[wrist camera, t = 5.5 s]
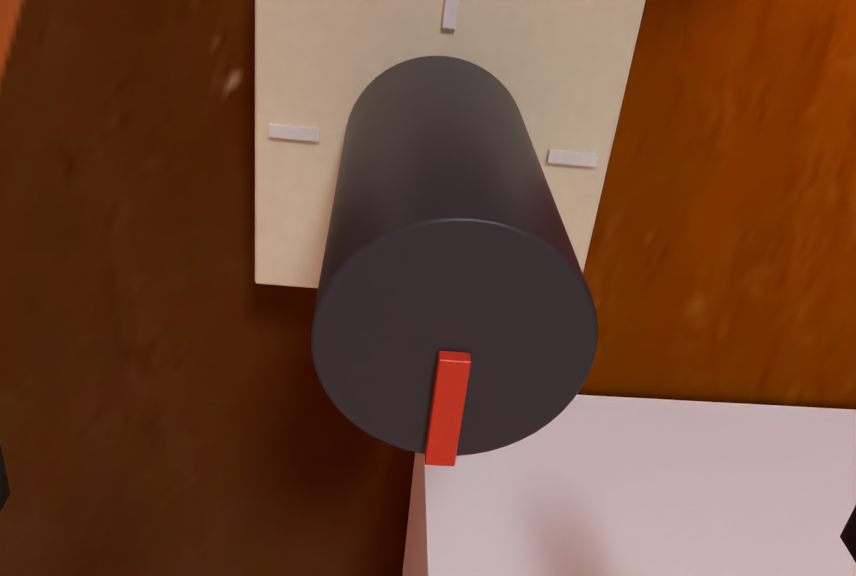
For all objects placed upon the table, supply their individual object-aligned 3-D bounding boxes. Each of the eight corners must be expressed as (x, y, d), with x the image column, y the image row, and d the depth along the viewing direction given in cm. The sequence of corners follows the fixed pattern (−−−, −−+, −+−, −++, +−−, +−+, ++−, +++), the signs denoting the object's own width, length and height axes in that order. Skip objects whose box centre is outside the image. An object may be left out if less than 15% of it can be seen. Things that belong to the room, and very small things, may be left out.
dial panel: (271, -83, 23) (253, -68, 20) (624, -43, 23) (654, -24, 21) (268, 240, 28) (253, 287, 25) (559, 264, 28) (576, 311, 26)
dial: (350, 45, 21) (314, 213, 13) (538, 64, 22) (632, 240, 13) (340, 218, 24) (304, 460, 15) (509, 232, 24) (571, 476, 15)
